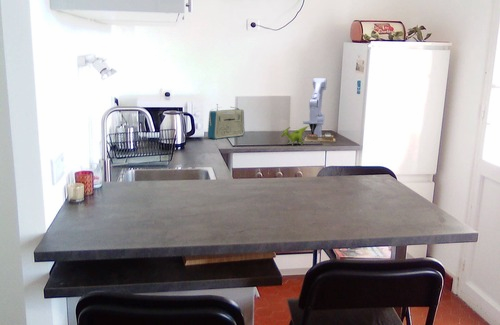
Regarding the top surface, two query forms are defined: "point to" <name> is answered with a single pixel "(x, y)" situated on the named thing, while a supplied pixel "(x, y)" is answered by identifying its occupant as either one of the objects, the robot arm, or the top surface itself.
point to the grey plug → (327, 134)
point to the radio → (226, 123)
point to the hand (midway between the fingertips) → (312, 134)
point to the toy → (295, 135)
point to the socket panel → (316, 139)
